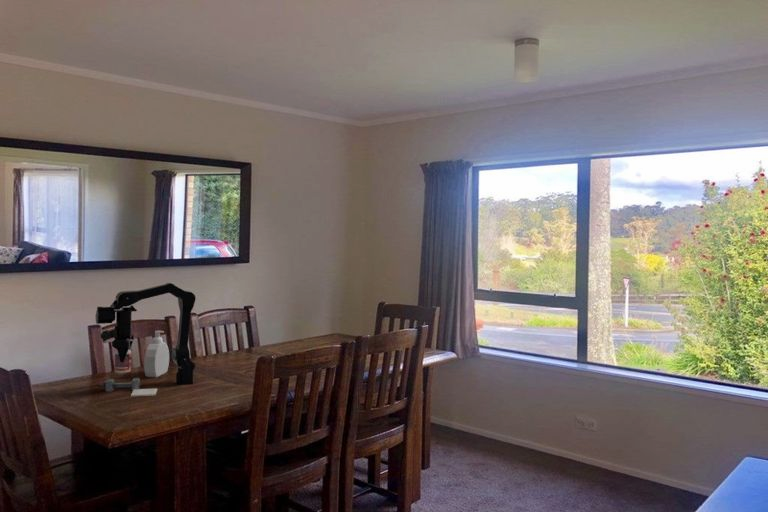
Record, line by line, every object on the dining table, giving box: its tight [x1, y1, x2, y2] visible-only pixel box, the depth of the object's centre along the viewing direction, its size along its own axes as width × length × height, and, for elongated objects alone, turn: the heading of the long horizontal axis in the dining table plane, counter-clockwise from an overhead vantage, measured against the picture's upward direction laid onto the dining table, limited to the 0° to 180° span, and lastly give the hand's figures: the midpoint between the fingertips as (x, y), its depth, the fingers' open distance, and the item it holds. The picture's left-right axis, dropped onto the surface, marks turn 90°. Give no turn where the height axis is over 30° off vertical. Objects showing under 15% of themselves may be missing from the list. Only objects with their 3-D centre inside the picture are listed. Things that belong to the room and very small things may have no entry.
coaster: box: [130, 388, 158, 398], centre depth 241 cm, size 9×9×1 cm
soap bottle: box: [143, 330, 170, 378], centre depth 273 cm, size 16×5×20 cm, turn 177°
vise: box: [98, 377, 141, 393], centre depth 246 cm, size 15×8×4 cm, turn 106°
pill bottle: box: [114, 347, 132, 374], centre depth 245 cm, size 6×6×11 cm
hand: (123, 360), depth 245 cm, fingers closed on pill bottle, 6 cm apart
